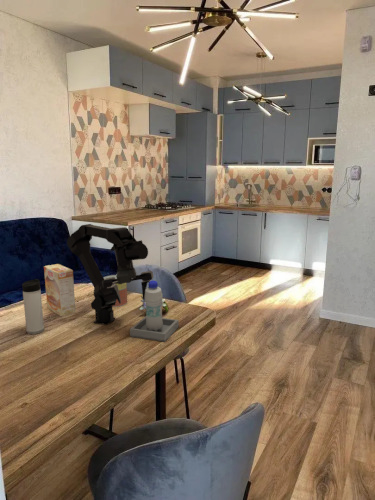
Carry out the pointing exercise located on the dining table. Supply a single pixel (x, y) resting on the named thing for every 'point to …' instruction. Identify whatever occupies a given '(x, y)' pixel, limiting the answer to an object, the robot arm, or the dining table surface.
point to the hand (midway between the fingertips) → (132, 301)
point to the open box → (162, 335)
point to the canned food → (120, 292)
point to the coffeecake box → (60, 289)
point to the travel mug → (33, 306)
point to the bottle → (153, 307)
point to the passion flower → (162, 304)
